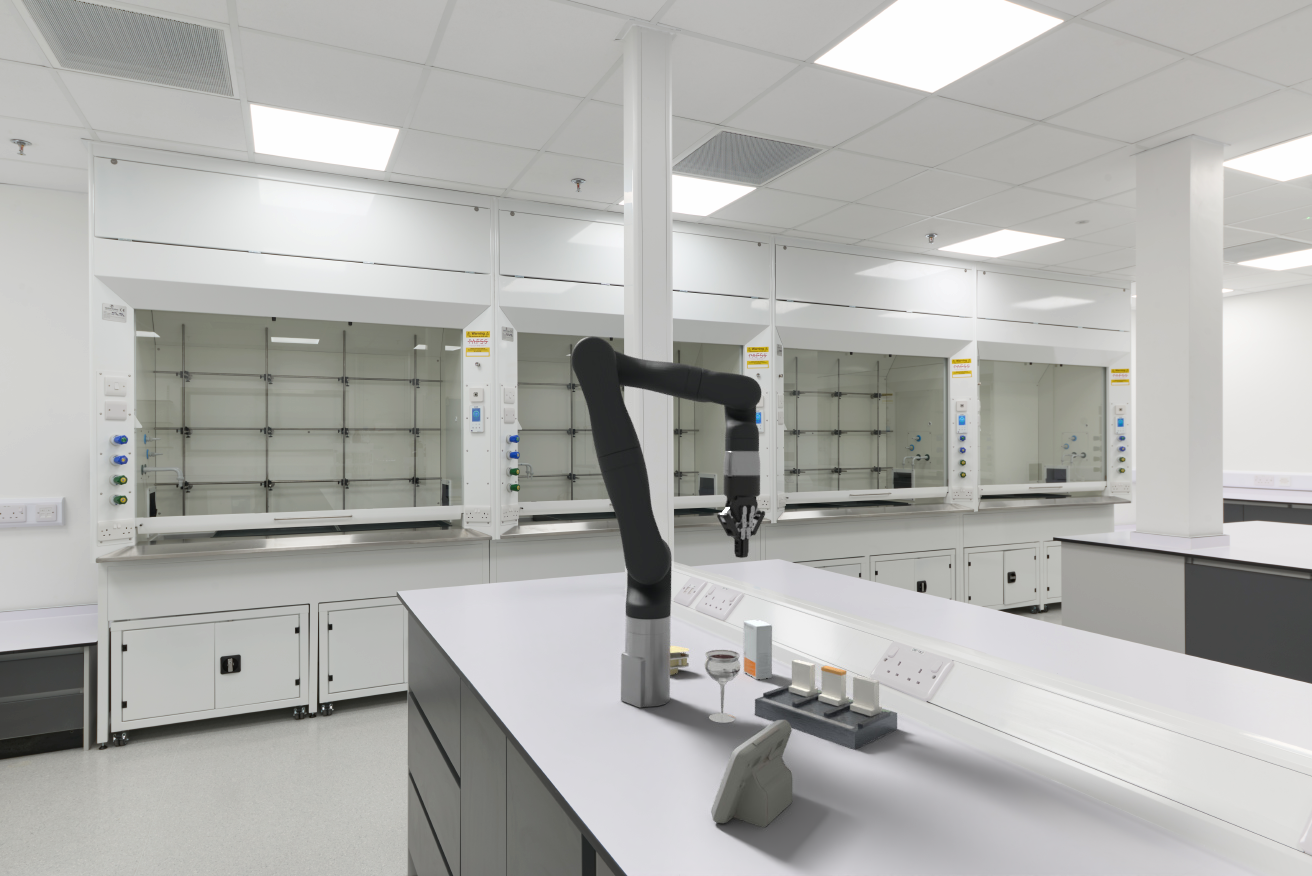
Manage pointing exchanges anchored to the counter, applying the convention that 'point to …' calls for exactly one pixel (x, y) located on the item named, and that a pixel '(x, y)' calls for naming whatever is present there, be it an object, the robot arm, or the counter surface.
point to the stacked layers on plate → (678, 658)
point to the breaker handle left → (803, 678)
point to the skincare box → (757, 649)
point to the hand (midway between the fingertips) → (741, 557)
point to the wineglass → (722, 675)
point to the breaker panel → (825, 717)
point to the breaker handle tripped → (833, 686)
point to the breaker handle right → (865, 696)
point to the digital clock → (756, 779)
